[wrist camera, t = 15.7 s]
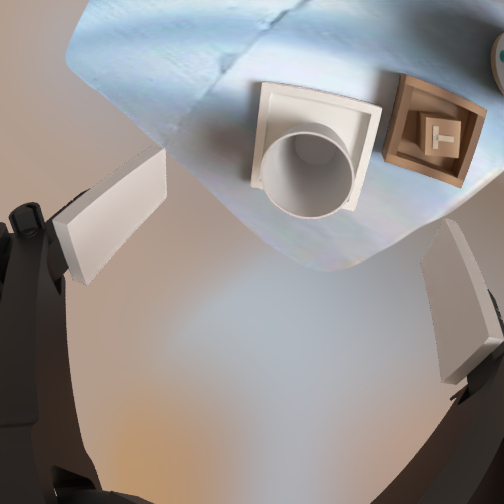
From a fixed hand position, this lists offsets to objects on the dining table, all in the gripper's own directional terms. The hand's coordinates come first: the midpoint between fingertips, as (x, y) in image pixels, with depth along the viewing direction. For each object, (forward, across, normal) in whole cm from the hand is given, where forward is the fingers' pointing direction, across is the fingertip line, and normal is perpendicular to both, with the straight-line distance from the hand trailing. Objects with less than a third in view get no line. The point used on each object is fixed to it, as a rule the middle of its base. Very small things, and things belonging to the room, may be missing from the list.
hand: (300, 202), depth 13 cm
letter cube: (+22, +13, +2) cm, 25 cm away
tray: (+23, 0, -4) cm, 23 cm away
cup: (+22, 0, -4) cm, 23 cm away
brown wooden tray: (+23, +13, +2) cm, 26 cm away
